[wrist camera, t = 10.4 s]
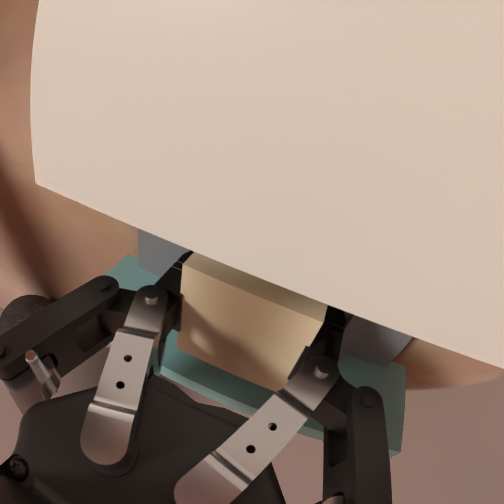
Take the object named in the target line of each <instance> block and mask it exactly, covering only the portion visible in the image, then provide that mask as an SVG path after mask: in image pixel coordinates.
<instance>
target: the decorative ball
mask: <svg viewBox="0 0 504 504" xmlns="http://www.w3.org/2000/svg"><path fill="white" fill-rule="evenodd" d="M52 303H53V302H52V301H51V300H49V299H47V298H45V297H42V296H39V295H25V296H21V297H19V298H17V299H15V300H13V301H12V302H11V303H10V304H9V305H8V306H7V307H6V308H5V309H4V311H3V312H2V314H1V317H0V336H1V335H2V334H4V333H6V332H7V331H9V330H10V329H12V328H13V327H15V326H16V325H18V324H20V323H21V322H23V321H24V320H26V319H28V318H29V317H31V316H32V315H34V314H36V313H37V312H39V311H40V310H42V309H44V308H45V307H47V306H49V305H50V304H52Z"/></svg>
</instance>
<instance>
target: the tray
mask: <svg viewBox="0 0 504 504" xmlns="http://www.w3.org/2000/svg"><path fill="white" fill-rule="evenodd" d="M138 235H139V259H138V258H136V257H134V256H132V255H129V254H128V255H127V256H125V257H124V258H123V259H122V260H121V261H120V262H119V263H117V264H116V265H115V266H114V267H113V268H112V269H111V270H110V271H108V272H107V273H106V274H105V276H111V277H113V278H115V279H116V280H117V281H118V283H119V288H123V289H128V290H134V291H138V289H140V288H141V287H143V286H146V285H154V284H155V283H156V282H157V281H158V280H159V279H160V278H161V277H162V276H163V275H164V274H165V272H166V271H167V270H168V269H169V268H170V267H172V265H173V264H174V263H175V262H177V260H178V259H179V258H180V257H181V256H182V255H183V254H184V253H186V252H189V251H191V250H189V249H187V248H184V247H182V246H180V245H177V244H175V243H172V242H170V241H168V240H165V239H163V238H160V237H158V236H156V235H153V234H151V233H148V232H146V231H144V230H141V229H139V228H138ZM344 314H345V317H346V322H345V328H344V333H343V338H342V344H341V349H340V354H339V359H338V368H339V372H340V374H341V376H342V377H343V378H344V379H345V380H346V381H347V382H348V383H350V384H351V385H353V386H354V387H356V388H358V387H361V386H369V387H372V388H374V389H375V390H376V391H378V392H379V394H380V395H381V397H382V400H383V405H384V413H385V421H386V430H387V439H388V449H389V458H391V457H392V456H394V455H396V454H398V453H399V452H400V451H401V442H402V432H403V421H404V408H405V389H406V366H405V365H402V364H399V363H396V362H393V360H394V359H395V358H396V357H397V355H398V354H399V353H400V352H401V351H402V349H403V348H404V347H405V346H406V345H407V343H408V342H409V341H410V340H411V339H412V337H413V336H410V335H407V334H405V333H402V332H399V331H396V330H394V329H391V328H388V327H386V326H383V325H380V324H378V323H375V322H372V321H370V320H367V319H364V318H362V317H359V316H356V315H354V314H351V313H348V312H346V311H344ZM177 337H178V331H176V330H174V329H172V330H171V332H170V333H169V334H168V339H167V344H166V348H165V353H164V357H163V362H162V366H161V371H160V374H162V375H164V376H166V377H168V378H169V379H171V380H173V381H175V382H178V383H180V384H182V385H183V386H185V387H187V388H190V389H191V390H194V391H196V392H198V393H200V394H202V395H204V396H206V397H208V398H211V399H213V400H215V401H217V402H220V403H222V404H224V405H226V406H229V407H231V408H234V409H236V410H238V411H241V412H243V413H246V414H248V415H251V416H253V415H254V414H255V413H256V412H257V411H258V410H259V409H260V408H261V407H262V406H263V405H264V404H265V403H266V402H267V401H268V400H269V399H270V398H271V397H272V396H273V395H274V394H275V393H276V392H275V391H272V390H270V389H267V388H265V387H262V386H260V385H257V384H255V383H252V382H250V381H248V380H245V379H243V378H241V377H238V376H236V375H234V374H231V373H229V372H227V371H225V370H222V369H220V368H218V367H216V366H213V365H211V364H209V363H207V362H205V361H203V360H201V359H199V358H196V357H194V356H192V355H190V354H188V353H186V352H184V351H182V350H180V349H178V348H177ZM112 342H113V341H112ZM112 342H111V343H109V345H112ZM288 382H289V380H288ZM288 382H287V383H288ZM297 433H300V434H303V435H306V436H309V437H313V438H316V439H319V440H322V441H324V426H323V425H321V424H320V423H318V422H317V421H316V420H314V419H313V418H311V417H309V418H308V419H307V421H306V422H305V423H304V424H303V425H302V427H301V428H300V429H299V430H298V431H297Z"/></svg>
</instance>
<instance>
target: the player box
mask: <svg viewBox="0 0 504 504" xmlns="http://www.w3.org/2000/svg"><path fill="white" fill-rule="evenodd" d="M30 110H31V138H32V152H33V163H34V173H35V181H36V184H38V185H40V186H42V187H45V188H47V189H49V190H51V191H54V192H56V193H58V194H60V195H63V196H65V197H67V198H69V199H72V200H74V201H76V202H79V203H81V204H83V205H85V206H88V207H90V208H92V209H95V210H97V211H99V212H102V213H104V214H106V215H109V216H111V217H113V218H116V219H118V220H120V221H123V222H125V223H127V224H130V225H132V226H134V227H137V228H139V229H141V230H144V231H146V232H148V233H151V234H153V235H156V236H158V237H160V238H163V239H165V240H168V241H170V242H172V243H175V244H177V245H180V246H182V247H184V248H187V249H189V250H192V251H194V252H197V253H199V254H201V255H204V256H206V257H209V258H211V259H214V260H216V261H219V262H221V263H224V264H226V265H228V266H231V267H233V268H236V269H238V270H241V271H243V272H246V273H248V274H251V275H253V276H256V277H258V278H261V279H263V280H266V281H268V282H271V283H274V284H276V285H279V286H281V287H284V288H286V289H289V290H291V291H294V292H296V293H299V294H302V295H304V296H307V297H309V298H312V299H314V300H317V301H320V302H322V303H325V304H327V305H330V306H333V307H335V308H338V309H340V310H343V311H346V312H348V313H351V314H354V315H356V316H359V317H362V318H364V319H367V320H370V321H372V322H375V323H378V324H380V325H383V326H386V327H388V328H391V329H394V330H396V331H399V332H402V333H405V334H407V335H410V336H413V337H415V338H418V339H421V340H424V341H426V342H429V343H432V344H435V345H438V346H440V347H443V348H446V349H449V350H452V351H454V352H457V353H460V354H463V355H466V356H469V357H471V358H474V359H477V360H480V361H483V362H486V363H489V364H492V365H494V366H497V367H500V368H503V369H504V0H39V6H38V12H37V18H36V25H35V33H34V42H33V52H32V66H31V92H30Z"/></svg>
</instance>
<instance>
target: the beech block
mask: <svg viewBox="0 0 504 504" xmlns="http://www.w3.org/2000/svg"><path fill="white" fill-rule="evenodd" d="M180 293H182V294H183V299H182V315H181V331H180V332H178V337H177V348H178V349H180V350H182V351H184V352H186V353H188V354H190V355H192V356H194V357H196V358H199V359H201V360H203V361H205V362H207V363H209V364H211V365H213V366H216V367H218V368H220V369H222V370H225V371H227V372H229V373H231V374H234V375H236V376H238V377H241V378H243V379H245V380H248V381H250V382H252V383H255V384H257V385H260V386H262V387H265V388H267V389H270V390H272V391H275V392H277V391H278V390H281V389H282V388H283V387H284V386H285V385H286V384H287V382H288V379H287V378H288V376H289V374H290V372H291V371H292V369H293V367H294V365H295V364H296V362H297V360H298V358H299V357H300V355H301V353H302V351H303V350H304V348H305V346H310V345H311V343H312V341H313V340H314V338H315V336H316V335H317V333H318V331H319V329H320V328H321V326H322V324H323V322H324V318H325V314H326V310H327V306H328V305H327V304H325V303H322V302H320V301H317V300H314V299H312V298H309V297H307V296H304V295H302V294H299V293H296V292H294V291H291V290H289V289H286V288H284V287H281V286H279V285H276V284H274V283H271V282H268V281H266V280H263V279H261V278H258V277H256V276H253V275H251V274H248V273H246V272H243V271H241V270H238V269H236V268H233V267H231V266H228V265H226V264H224V263H221V262H219V261H216V260H214V259H211V258H209V257H206V256H204V255H201V254H199V253H197V252H194V253H193V254H192V255H191V256H190V257H189V258H188V259H187V260H186V261H185V262H184V264H183V267H182V279H181V291H180Z"/></svg>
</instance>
